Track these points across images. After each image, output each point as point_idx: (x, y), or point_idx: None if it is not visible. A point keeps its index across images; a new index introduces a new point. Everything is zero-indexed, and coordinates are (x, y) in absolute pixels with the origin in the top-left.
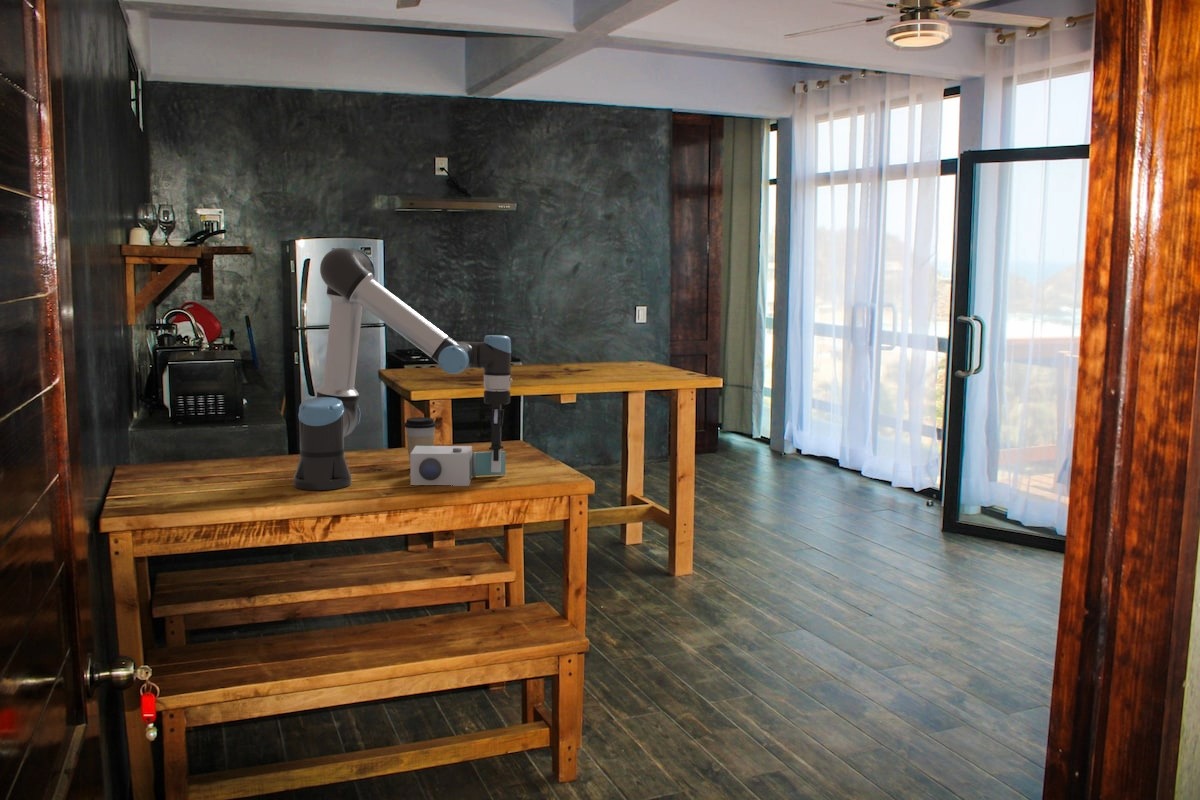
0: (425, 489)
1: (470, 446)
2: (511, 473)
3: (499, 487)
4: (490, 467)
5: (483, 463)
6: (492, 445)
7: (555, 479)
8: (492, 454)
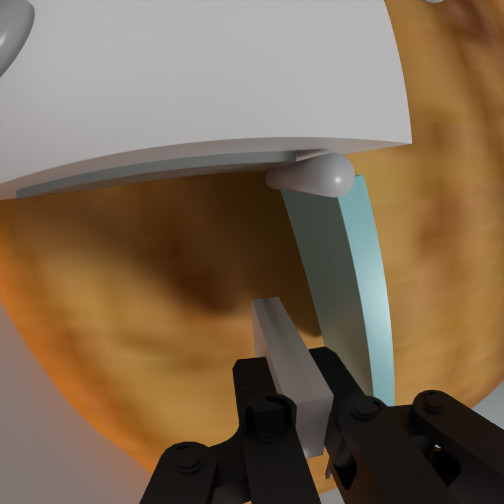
0: None
1: (381, 120)
2: None
3: (68, 339)
4: (321, 291)
5: (319, 254)
6: (155, 478)
7: None
8: (276, 379)
